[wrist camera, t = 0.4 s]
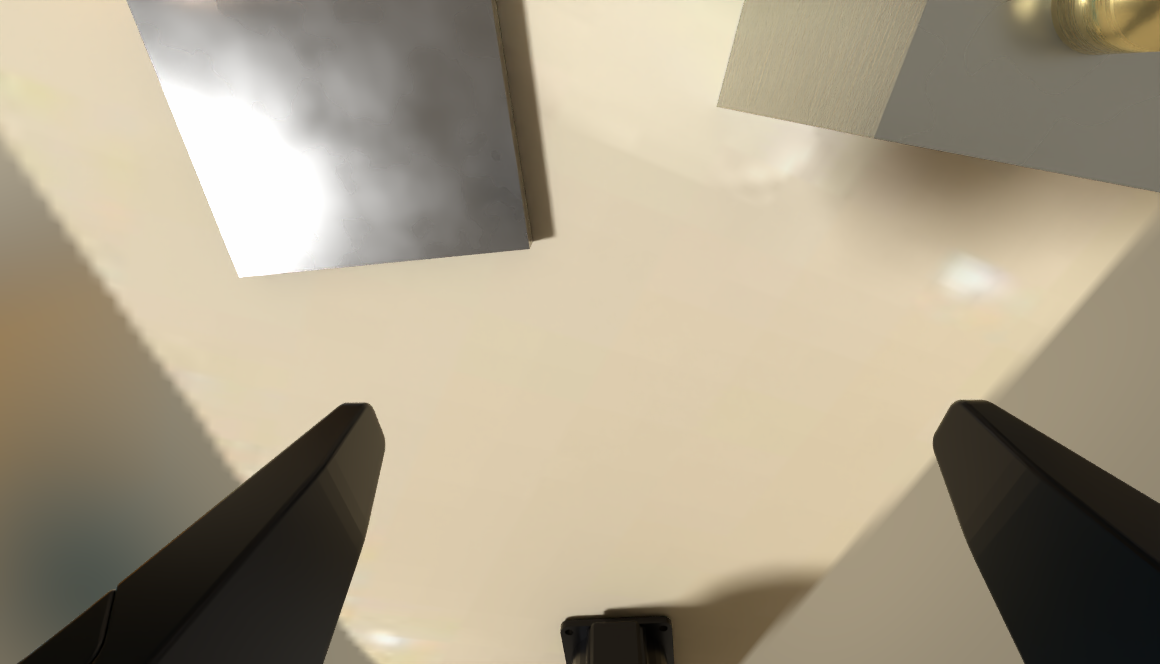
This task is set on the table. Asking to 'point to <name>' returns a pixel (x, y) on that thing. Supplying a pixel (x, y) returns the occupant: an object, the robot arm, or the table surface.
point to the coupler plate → (344, 127)
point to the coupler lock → (964, 78)
